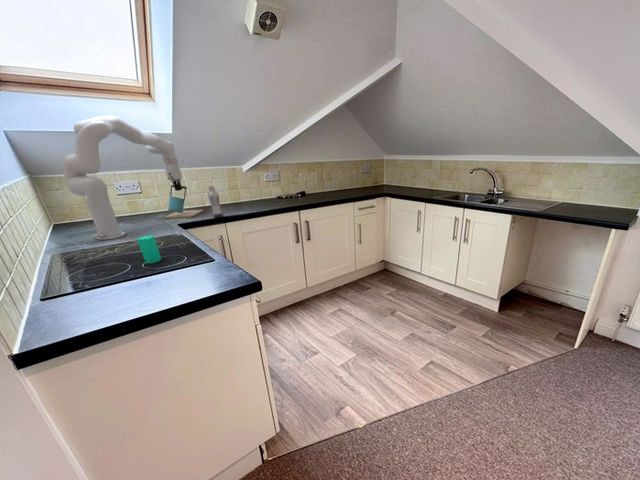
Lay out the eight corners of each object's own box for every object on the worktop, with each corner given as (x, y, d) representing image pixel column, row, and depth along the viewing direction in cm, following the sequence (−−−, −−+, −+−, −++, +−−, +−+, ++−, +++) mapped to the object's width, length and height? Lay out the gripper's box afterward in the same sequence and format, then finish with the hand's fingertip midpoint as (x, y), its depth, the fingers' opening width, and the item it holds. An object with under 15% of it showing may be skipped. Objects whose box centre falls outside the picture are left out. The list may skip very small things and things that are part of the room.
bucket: (175, 186, 208) (168, 182, 199) (189, 188, 208) (183, 184, 200) (171, 211, 207) (164, 208, 199) (185, 213, 208) (179, 210, 200)
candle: (163, 257, 131) (154, 230, 126) (159, 261, 126) (150, 234, 121) (147, 259, 130) (137, 232, 125) (143, 264, 124) (133, 236, 119)
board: (191, 217, 203) (190, 215, 202) (164, 218, 202) (164, 216, 202) (204, 211, 221) (204, 209, 221) (180, 212, 220) (179, 210, 220)
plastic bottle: (216, 218, 197) (209, 187, 189) (211, 217, 201) (203, 187, 193) (225, 216, 202) (218, 186, 194) (220, 215, 206) (213, 185, 198)
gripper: (171, 161, 204) (179, 188, 212) (158, 162, 190) (166, 192, 197) (182, 160, 204) (190, 188, 212) (170, 162, 190) (178, 191, 198)
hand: (178, 190), depth 205 cm, fingers closed on bucket, 1 cm apart
